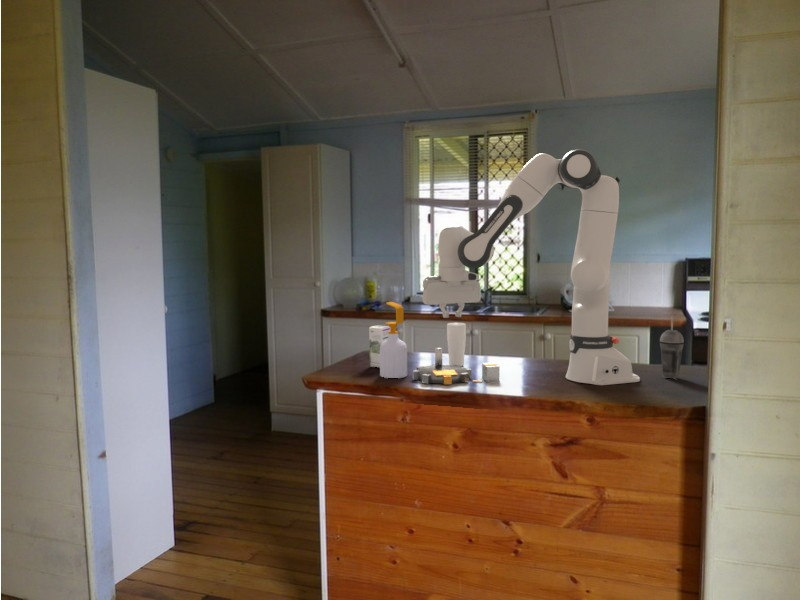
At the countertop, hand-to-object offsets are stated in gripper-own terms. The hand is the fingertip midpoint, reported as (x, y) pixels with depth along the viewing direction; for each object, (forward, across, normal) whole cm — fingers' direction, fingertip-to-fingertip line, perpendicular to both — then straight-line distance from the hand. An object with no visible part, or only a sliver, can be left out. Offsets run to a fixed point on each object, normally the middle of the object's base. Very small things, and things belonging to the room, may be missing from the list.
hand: (452, 317), depth 205 cm
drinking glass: (+19, +7, +11) cm, 23 cm away
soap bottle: (+19, -19, +5) cm, 28 cm away
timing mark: (+19, +2, -14) cm, 24 cm away
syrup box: (+19, -18, +21) cm, 34 cm away
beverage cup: (+19, +60, -35) cm, 72 cm away
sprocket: (+19, -7, -6) cm, 21 cm away
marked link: (+19, +7, -14) cm, 25 cm away
